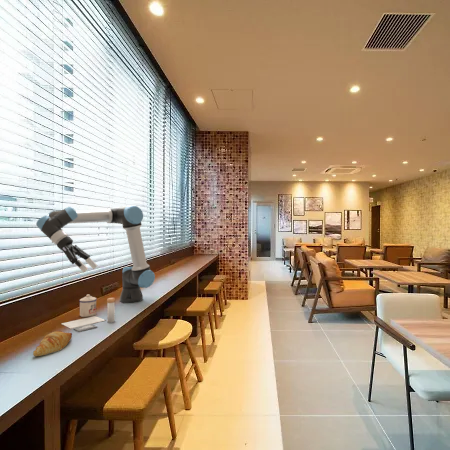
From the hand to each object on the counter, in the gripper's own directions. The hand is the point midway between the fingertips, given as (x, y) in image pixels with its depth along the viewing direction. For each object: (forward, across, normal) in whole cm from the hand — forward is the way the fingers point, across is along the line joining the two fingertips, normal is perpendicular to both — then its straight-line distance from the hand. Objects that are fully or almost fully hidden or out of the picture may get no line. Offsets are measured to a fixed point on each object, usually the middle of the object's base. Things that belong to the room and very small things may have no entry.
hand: (91, 268), depth 165 cm
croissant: (+19, +35, -22) cm, 46 cm away
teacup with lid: (+15, -16, -24) cm, 33 cm away
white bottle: (+27, 0, -12) cm, 30 cm away
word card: (+21, +10, -19) cm, 30 cm away
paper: (+17, 0, -22) cm, 28 cm away
